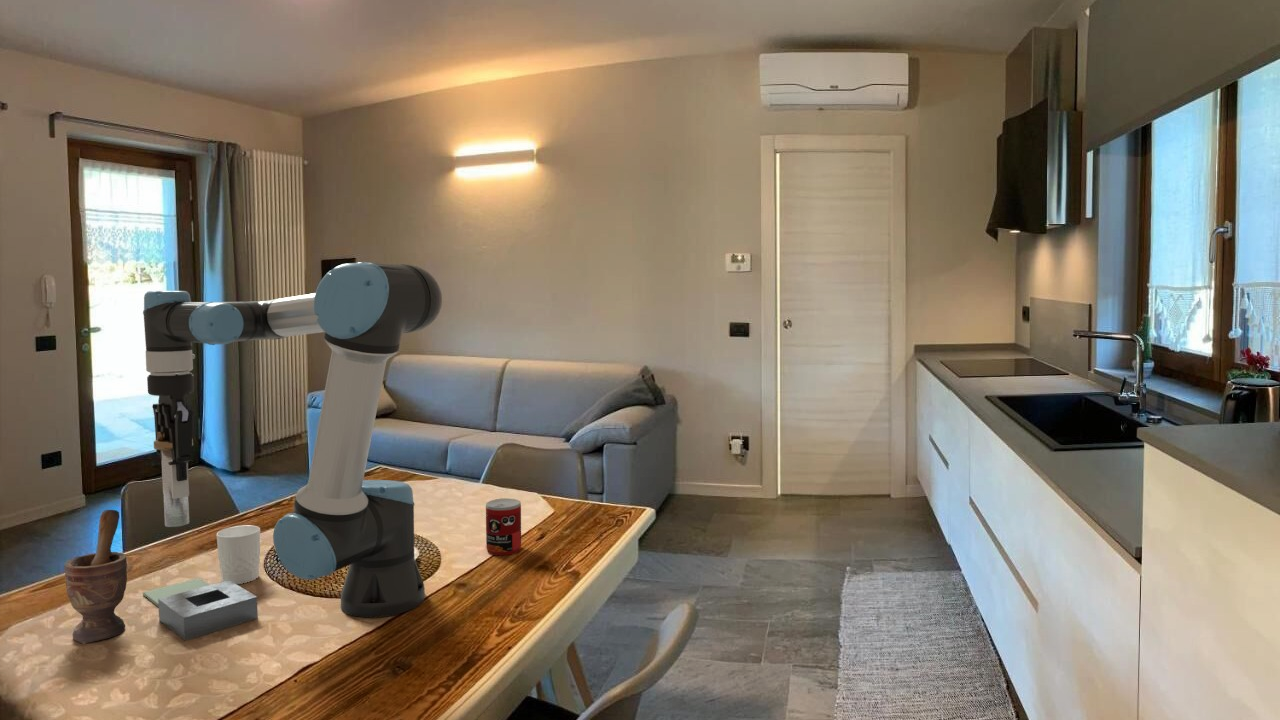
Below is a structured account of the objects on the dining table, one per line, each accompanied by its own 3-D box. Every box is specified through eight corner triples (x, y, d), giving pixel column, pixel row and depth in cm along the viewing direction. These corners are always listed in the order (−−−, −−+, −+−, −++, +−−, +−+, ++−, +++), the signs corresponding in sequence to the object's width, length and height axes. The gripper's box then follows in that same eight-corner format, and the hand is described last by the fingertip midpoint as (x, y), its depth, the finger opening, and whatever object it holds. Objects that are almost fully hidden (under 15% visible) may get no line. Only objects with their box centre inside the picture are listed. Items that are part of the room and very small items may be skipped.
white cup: (244, 587, 154) (242, 538, 154) (209, 584, 156) (207, 535, 155) (270, 573, 162) (268, 526, 161) (237, 570, 164) (235, 524, 163)
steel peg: (202, 518, 153) (198, 428, 151) (186, 528, 147) (182, 435, 145) (168, 519, 152) (164, 428, 151) (150, 529, 146) (146, 435, 144)
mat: (219, 593, 151) (219, 590, 151) (161, 609, 144) (161, 606, 144) (199, 580, 158) (199, 577, 158) (143, 595, 150) (142, 592, 150)
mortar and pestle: (71, 623, 138) (64, 512, 136) (129, 612, 142) (124, 505, 140) (67, 649, 128) (60, 530, 126) (130, 636, 133) (124, 521, 131)
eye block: (257, 618, 140) (256, 596, 140) (184, 640, 131) (183, 617, 131) (230, 600, 148) (229, 580, 148) (159, 620, 139) (158, 598, 139)
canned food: (479, 553, 175) (479, 505, 174) (498, 542, 183) (498, 496, 182) (509, 558, 173) (508, 509, 171) (527, 547, 180) (527, 500, 179)
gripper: (209, 375, 144) (214, 499, 146) (175, 368, 155) (180, 483, 157) (164, 378, 138) (170, 507, 141) (132, 370, 150) (138, 490, 152)
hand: (176, 494), depth 149 cm, fingers closed on steel peg, 4 cm apart
